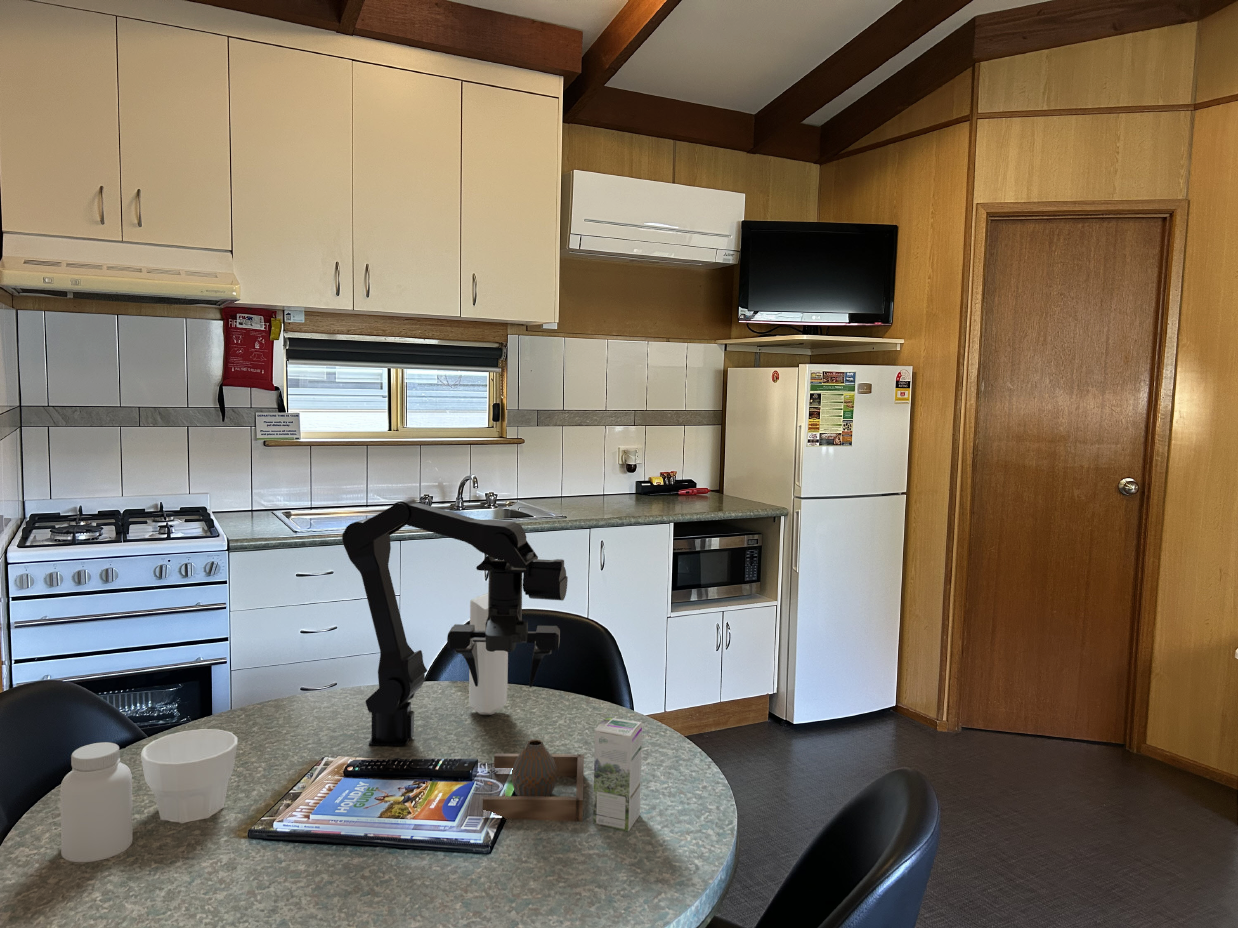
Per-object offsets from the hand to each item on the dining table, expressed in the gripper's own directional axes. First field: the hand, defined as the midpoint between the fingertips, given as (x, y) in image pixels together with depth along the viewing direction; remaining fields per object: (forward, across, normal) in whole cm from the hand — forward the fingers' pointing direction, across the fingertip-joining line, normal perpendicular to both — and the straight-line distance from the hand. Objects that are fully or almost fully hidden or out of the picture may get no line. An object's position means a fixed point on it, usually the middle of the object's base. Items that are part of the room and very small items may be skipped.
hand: (503, 686), depth 148 cm
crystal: (+12, -5, +17) cm, 22 cm away
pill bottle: (+12, -49, -35) cm, 61 cm away
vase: (+12, +6, -16) cm, 21 cm away
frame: (+12, +6, -16) cm, 21 cm away
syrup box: (+12, +19, -23) cm, 32 cm away
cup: (+12, -42, -24) cm, 50 cm away
